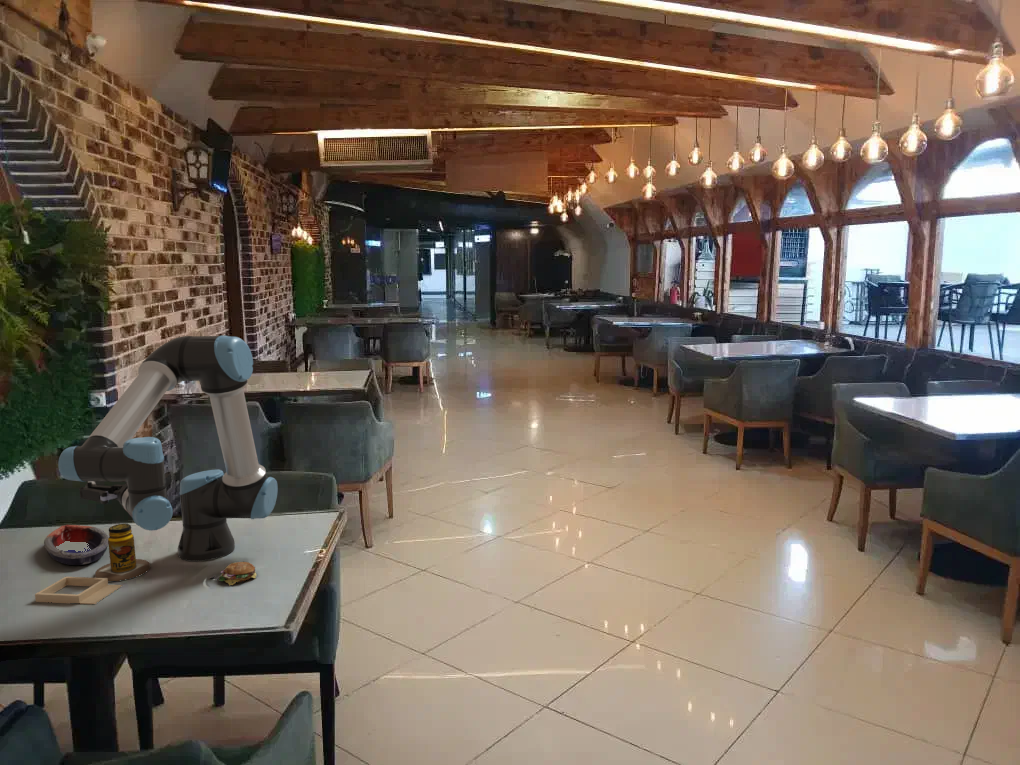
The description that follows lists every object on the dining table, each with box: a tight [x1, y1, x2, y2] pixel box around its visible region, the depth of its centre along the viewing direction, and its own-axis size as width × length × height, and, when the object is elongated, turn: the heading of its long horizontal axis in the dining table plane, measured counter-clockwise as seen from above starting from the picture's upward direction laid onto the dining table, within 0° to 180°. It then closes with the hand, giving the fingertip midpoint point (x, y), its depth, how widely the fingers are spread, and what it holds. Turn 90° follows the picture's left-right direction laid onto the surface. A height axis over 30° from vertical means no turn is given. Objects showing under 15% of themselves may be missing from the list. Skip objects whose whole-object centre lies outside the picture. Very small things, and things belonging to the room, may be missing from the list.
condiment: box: [100, 523, 143, 575], centre depth 196 cm, size 7×8×12 cm
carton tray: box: [34, 576, 123, 605], centre depth 183 cm, size 16×11×2 cm
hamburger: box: [211, 561, 257, 586], centre depth 191 cm, size 14×14×6 cm
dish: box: [43, 524, 109, 566], centre depth 211 cm, size 16×31×5 cm, turn 38°
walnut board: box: [95, 558, 151, 582], centre depth 197 cm, size 13×13×1 cm
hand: (120, 477), depth 185 cm, fingers open, 13 cm apart
